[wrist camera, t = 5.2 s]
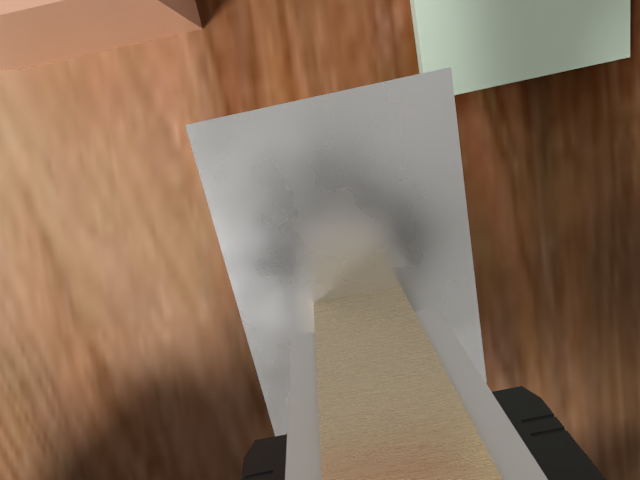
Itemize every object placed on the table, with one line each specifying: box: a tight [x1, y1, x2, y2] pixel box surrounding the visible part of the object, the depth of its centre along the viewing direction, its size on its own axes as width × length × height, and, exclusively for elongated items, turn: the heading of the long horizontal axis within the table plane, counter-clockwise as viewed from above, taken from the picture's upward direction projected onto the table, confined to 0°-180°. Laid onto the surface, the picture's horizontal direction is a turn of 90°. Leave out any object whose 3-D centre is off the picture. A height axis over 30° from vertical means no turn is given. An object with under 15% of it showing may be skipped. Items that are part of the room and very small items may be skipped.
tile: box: [0, 0, 203, 70], centre depth 23 cm, size 2×12×12 cm, turn 102°
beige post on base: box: [185, 67, 503, 480], centre depth 12 cm, size 16×8×10 cm, turn 12°
